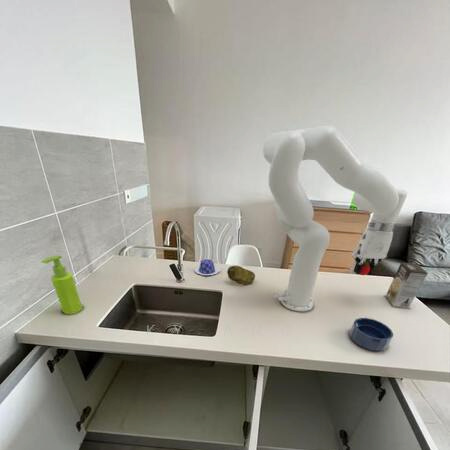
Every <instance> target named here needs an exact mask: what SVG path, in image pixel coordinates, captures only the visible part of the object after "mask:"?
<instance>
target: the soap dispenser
mask: <svg viewBox="0 0 450 450" xmlns="http://www.w3.org/2000/svg"><path fill="white" fill-rule="evenodd" d="M62 258H63V256H62V255H58V254H56V255H52V256H49V257H46V258H45V259H43V260H41V263H44V264H49V263H51V262H52V263H53V264H54V265H53V266H52V267H51V268H52V271H53V275H52V276H51V277H50V279H51V281H52V285H53V287H54V291H55V293H56V295H57V298H58V302H59V304H60V306H61V307H60V308H61V310H62V312H63V314H65V315H74V314H77V313H78V312H81V311H82V309H83V306H82V302H81V300H80V295H79V292H78V289H77V286H76V282H75V279H74V277H73V273H71V272H68V271H67V268H66V266H65V265H64V264H62V263H61V260H60V259H62Z"/></svg>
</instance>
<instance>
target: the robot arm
mask: <svg viewBox="0 0 450 450" xmlns="http://www.w3.org/2000/svg"><path fill="white" fill-rule="evenodd" d="M262 155H263V157H264V159H265V161H266V162H268V164H270V165H269V166H270V167H269V172H268V187H269V190H270V193H271V195H272V197H273V199H274V200H275V203H274V214H275V216H276V217H275V218H277V220H278V222H279V224H280V225H281V227H282V229H283V230H284V232H285V233H286V234H287V236H288V238H289V239H290V241H292V242H294V243H295V244H296V245H297V246H298V249H297V251H296V253H295V255H294V256H293V259H292V264H291V269H290V273H289V278H288V279H289V280H288V283H287V287H286V289H284V291H283V292H281V293H280V292H276V293H273V298H274V299H278V301H280V303H281V304H282V305H283V307H285V308H287V309H289V310H290V311H291V310H292V311H293V312H309V311H311V310H312V309H313V307H314V301H313V300H312V296H313V292H314V288H315V285H316V281H317V277H318V273H319V269H320V266H321V263H322V261H323V257H324V255H325V252H326V251H327V249H328V247H329V244H330V242H331V234H330V232H329V230H328V228H326V227H325V226H324V225H323V224H322V223H320V222H317V221H314V220H313V219H314V217H315V216H314V214H315V213H314V206H313V204H312V202H311V200H310V198H309V197H308V195H307V192H306V191H305V189H304V187H303V185H302V182H301V180H300V177H299V169H300V165H301V162H302V161H308V160H310V161H316V162H317V163H318V164H319V165H320V167H321V168H322V169H323V170H324V171H325V172H326V173H327V174H328V175H329V176H330V177H331V178H332V180H333V181H334V182H335V183H336V184H338V185H339V186H341V187H342V188H344V189H347V190H349V191H352V192H353V193H354V195H353V204H354V205H355V207H356V208H358V209H360V210H363V211H366V212H369V213H372V217H371V218H370V221H369V222H367V223H366V227H367V228H365V230H364V232H363V233H362V235H361V237H360V239H359V241H358V243H357V245H356V249H355V250H354V251H352V253H350V256H351V257H352V258H353V259H354V262H355V265H354V267H353V273H355V274H356V275H360V272H361V269H362V267H363V265H362V263H363V262H365V261H366V259H370V261H368V263H369V266H370V271H369V272H368V273H367V275H369V276H371V275H372V274H373V271H374V269H375V267H376V266H378V265H379V263H380V262H382V261H383V260H385V259H386V258H388V252H389V251H390V248H391V244H392V241H393V236H394V232H393V229H394V227H395V224H396V222H397V219H398V217H399V215H400V212H401V211H402V208H403V206H404V204H405V201H406V200H407V199H406V198H407V196H408V191H406V190H405V189H401V188H396V187H395V186H394V184H393V183H392V182H391V181H390V180H389V178H387V177H386V176H385V175H384V174H383V173H381V172H380V171H379V170H378V169H376V168H375V167H373V166H372V165H370V163H368V162H367V161H365V160H364V159H362V158H361V156H360V155H359V154H358V152H357V151H356V150H355V149H354V148H353V147H352V145H351V144H350V142H349V141H348V140H347V138H346V137H345V136H344V135H343V133H342V132H341V131H340V130H339V129H338V128H336V127H335V126H333V125H320V126H315V127H314V126H313V127H308V128H303V129H296V130H283V131H277V132H273V133H272V134H270V135H269V136H268V137H267V138H266V139H265V141H264V144H263V147H262Z"/></svg>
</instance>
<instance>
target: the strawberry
mask: <svg viewBox="0 0 450 450" xmlns="http://www.w3.org/2000/svg"><path fill="white" fill-rule="evenodd" d="M362 265H363V267H362V269H361V272H360V274H359V275H360V276H366V275H368V272H369V271H370V266H369V261H364V262H363V263H362Z"/></svg>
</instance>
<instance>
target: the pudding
mask: <svg viewBox="0 0 450 450" xmlns="http://www.w3.org/2000/svg"><path fill="white" fill-rule="evenodd" d="M194 272H195V273H196V274H199V275H202V276H212V275H213V276H214V275H216V274H218V273H219V272H220V269H219V267H217V266H215V264H214V261H213V260H212V259H208V258H207V259H202V260H201V261H200V264H199V265H197V266H195V268H194Z"/></svg>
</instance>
